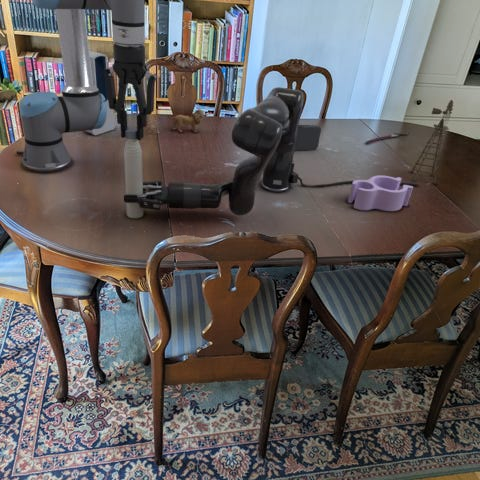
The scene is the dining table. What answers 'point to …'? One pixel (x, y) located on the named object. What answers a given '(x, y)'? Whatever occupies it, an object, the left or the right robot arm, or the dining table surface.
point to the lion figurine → (189, 120)
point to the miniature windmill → (438, 128)
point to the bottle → (133, 176)
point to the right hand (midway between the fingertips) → (125, 194)
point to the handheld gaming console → (307, 137)
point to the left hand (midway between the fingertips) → (132, 137)
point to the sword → (384, 137)
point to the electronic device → (101, 89)
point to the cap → (131, 132)
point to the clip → (379, 193)
